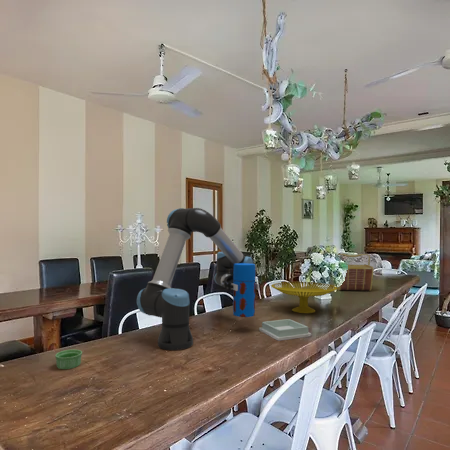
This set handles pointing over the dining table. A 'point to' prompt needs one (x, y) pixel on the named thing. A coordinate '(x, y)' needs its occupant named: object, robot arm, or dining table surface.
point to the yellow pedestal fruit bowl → (304, 293)
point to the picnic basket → (358, 276)
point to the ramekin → (68, 359)
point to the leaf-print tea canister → (244, 290)
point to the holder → (284, 329)
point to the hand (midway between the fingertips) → (247, 287)
